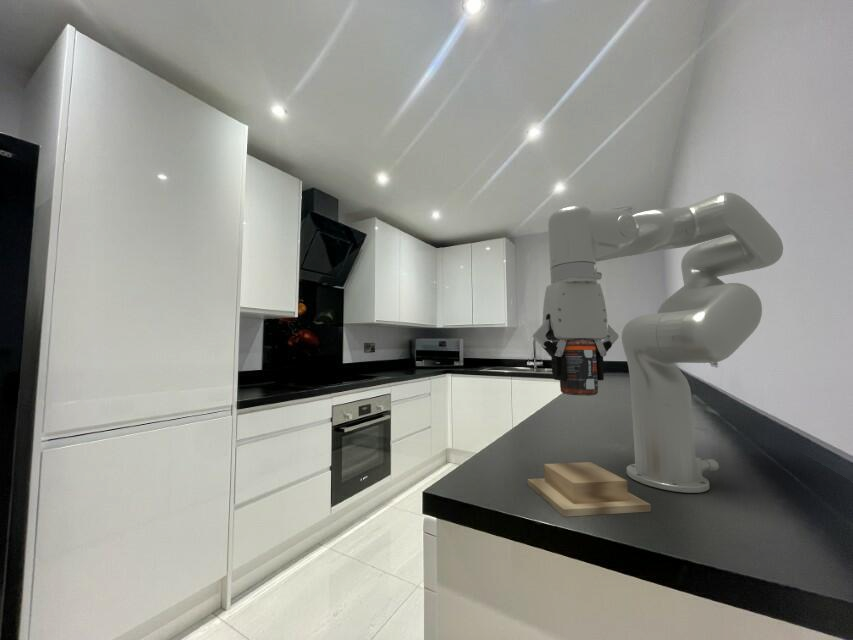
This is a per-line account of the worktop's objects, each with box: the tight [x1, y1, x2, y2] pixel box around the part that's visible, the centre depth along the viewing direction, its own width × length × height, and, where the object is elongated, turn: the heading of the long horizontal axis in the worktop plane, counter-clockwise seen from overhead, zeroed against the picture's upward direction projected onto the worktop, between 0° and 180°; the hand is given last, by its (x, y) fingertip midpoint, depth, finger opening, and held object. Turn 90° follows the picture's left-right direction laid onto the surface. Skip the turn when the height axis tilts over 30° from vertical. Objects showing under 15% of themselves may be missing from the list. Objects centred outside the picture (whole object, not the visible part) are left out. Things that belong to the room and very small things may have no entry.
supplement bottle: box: [559, 338, 599, 397], centre depth 57 cm, size 6×6×11 cm
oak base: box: [527, 461, 652, 518], centre depth 54 cm, size 14×12×4 cm
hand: (578, 378), depth 57 cm, fingers closed on supplement bottle, 6 cm apart
